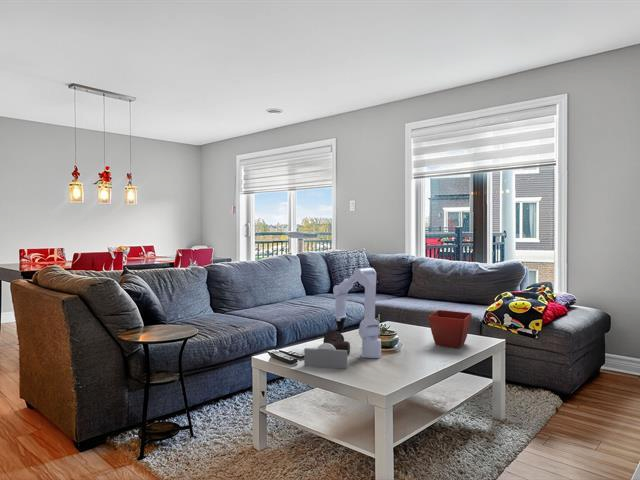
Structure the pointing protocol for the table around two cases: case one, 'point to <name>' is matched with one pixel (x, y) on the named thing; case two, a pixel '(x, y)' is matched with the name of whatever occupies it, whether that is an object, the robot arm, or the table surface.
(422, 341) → the table surface
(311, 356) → the duct panel
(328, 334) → the dark brown rounded piece
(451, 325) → the plant pot
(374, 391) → the table surface
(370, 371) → the table surface
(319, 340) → the table surface
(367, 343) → the robot arm
